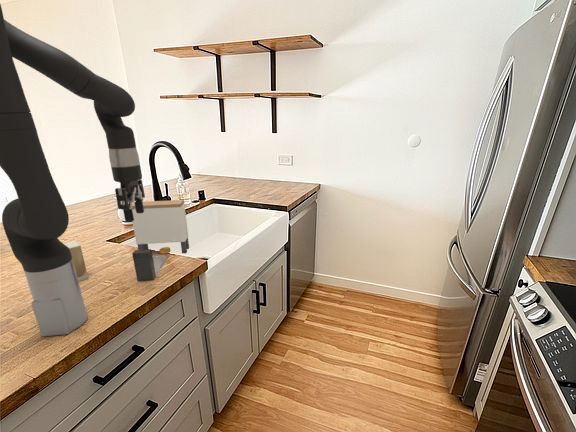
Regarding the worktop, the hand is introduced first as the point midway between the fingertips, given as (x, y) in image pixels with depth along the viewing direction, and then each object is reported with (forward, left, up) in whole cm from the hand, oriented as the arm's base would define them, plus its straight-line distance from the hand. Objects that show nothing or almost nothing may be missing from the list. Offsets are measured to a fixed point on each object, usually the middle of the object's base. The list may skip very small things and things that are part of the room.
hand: (135, 216), depth 90 cm
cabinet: (+21, 0, -22) cm, 30 cm away
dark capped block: (+7, 0, -22) cm, 23 cm away
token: (+21, 0, -22) cm, 31 cm away
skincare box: (+4, +23, -22) cm, 32 cm away
